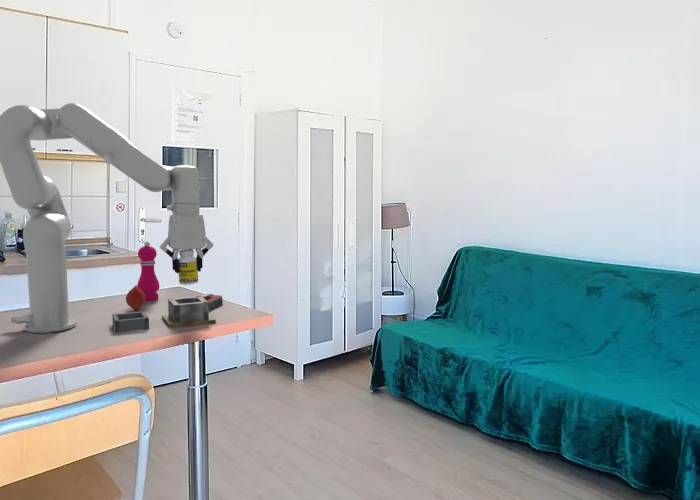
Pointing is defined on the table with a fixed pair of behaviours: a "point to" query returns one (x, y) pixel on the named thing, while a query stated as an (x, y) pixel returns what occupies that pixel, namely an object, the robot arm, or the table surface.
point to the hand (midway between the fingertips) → (187, 271)
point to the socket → (188, 312)
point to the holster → (130, 321)
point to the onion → (135, 298)
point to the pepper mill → (148, 272)
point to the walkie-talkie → (213, 300)
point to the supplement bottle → (187, 267)
